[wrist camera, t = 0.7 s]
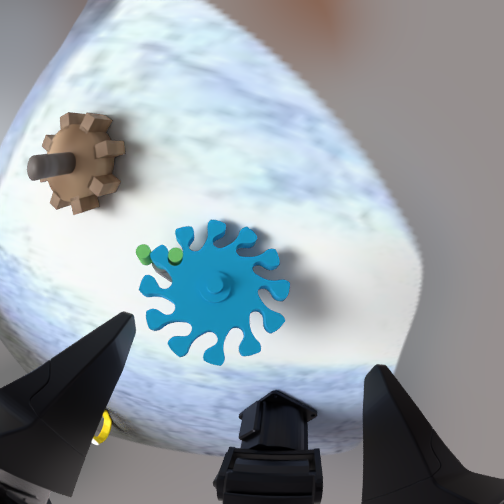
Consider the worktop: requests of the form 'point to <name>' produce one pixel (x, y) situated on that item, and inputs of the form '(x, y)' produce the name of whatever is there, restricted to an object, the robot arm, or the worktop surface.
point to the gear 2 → (212, 289)
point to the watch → (103, 429)
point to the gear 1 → (78, 162)
